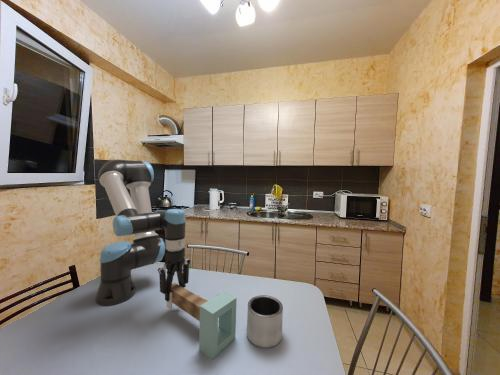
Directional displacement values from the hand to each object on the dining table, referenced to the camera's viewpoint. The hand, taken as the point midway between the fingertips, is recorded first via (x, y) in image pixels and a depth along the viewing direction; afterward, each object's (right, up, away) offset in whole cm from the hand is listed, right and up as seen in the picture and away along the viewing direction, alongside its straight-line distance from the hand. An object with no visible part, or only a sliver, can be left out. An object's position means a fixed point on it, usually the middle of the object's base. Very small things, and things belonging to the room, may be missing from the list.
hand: (174, 304), depth 86 cm
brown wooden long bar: (+6, +2, -5) cm, 8 cm away
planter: (+36, -5, -10) cm, 37 cm away
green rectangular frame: (+20, -5, -15) cm, 25 cm away
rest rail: (+12, -3, +1) cm, 12 cm away
